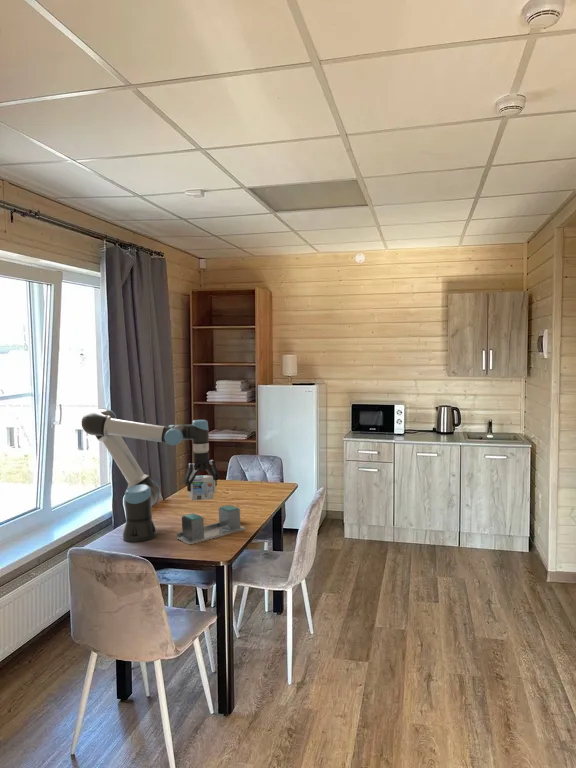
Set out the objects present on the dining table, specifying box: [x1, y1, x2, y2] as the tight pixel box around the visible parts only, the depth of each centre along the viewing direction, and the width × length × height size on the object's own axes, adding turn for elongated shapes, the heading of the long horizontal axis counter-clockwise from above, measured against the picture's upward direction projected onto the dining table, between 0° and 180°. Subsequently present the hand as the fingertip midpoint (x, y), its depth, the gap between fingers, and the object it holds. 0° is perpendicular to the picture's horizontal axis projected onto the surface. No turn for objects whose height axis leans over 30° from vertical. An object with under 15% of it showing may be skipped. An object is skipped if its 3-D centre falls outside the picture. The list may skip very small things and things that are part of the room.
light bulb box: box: [191, 474, 214, 501], centre depth 272 cm, size 11×7×11 cm, turn 101°
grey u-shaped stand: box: [176, 504, 246, 545], centre depth 260 cm, size 30×12×11 cm, turn 130°
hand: (202, 495), depth 272 cm, fingers closed on light bulb box, 12 cm apart
